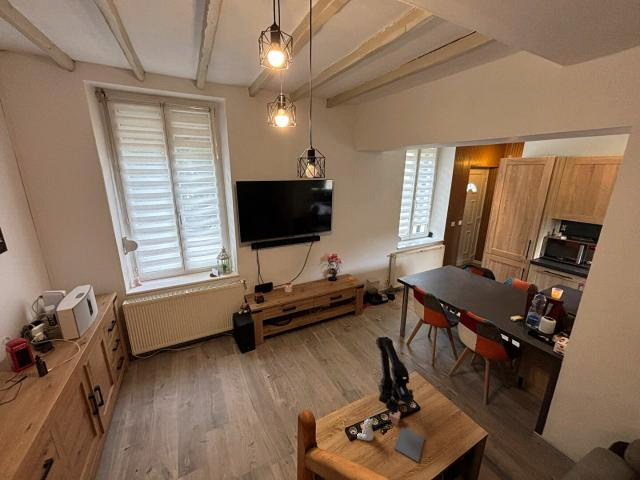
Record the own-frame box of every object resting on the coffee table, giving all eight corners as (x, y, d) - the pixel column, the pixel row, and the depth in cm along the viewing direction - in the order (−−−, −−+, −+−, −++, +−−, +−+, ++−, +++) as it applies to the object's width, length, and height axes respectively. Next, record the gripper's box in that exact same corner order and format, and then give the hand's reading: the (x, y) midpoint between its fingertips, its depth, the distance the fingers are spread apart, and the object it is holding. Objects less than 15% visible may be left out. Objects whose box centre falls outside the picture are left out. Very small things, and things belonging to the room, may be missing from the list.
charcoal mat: (394, 449, 136) (394, 447, 135) (401, 427, 147) (402, 426, 147) (418, 463, 129) (418, 461, 129) (424, 439, 141) (424, 437, 140)
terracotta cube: (388, 421, 150) (389, 414, 149) (391, 414, 154) (392, 408, 153) (397, 425, 148) (397, 419, 146) (399, 418, 152) (400, 412, 150)
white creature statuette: (362, 424, 149) (364, 407, 145) (377, 433, 144) (378, 416, 141) (354, 437, 141) (355, 420, 138) (369, 447, 137) (371, 430, 133)
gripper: (408, 405, 133) (405, 429, 137) (417, 381, 148) (414, 402, 152) (386, 395, 138) (384, 418, 143) (397, 372, 153) (395, 393, 158)
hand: (395, 408), depth 149 cm, fingers open, 9 cm apart
